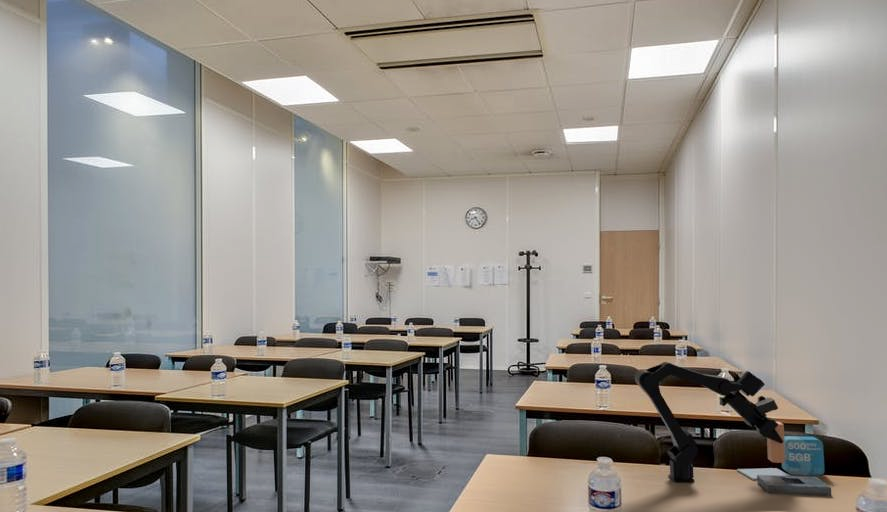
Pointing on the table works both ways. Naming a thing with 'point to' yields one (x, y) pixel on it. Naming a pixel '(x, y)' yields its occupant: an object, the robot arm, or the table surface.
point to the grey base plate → (793, 485)
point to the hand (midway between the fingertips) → (780, 440)
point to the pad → (761, 472)
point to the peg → (777, 446)
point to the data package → (803, 456)
